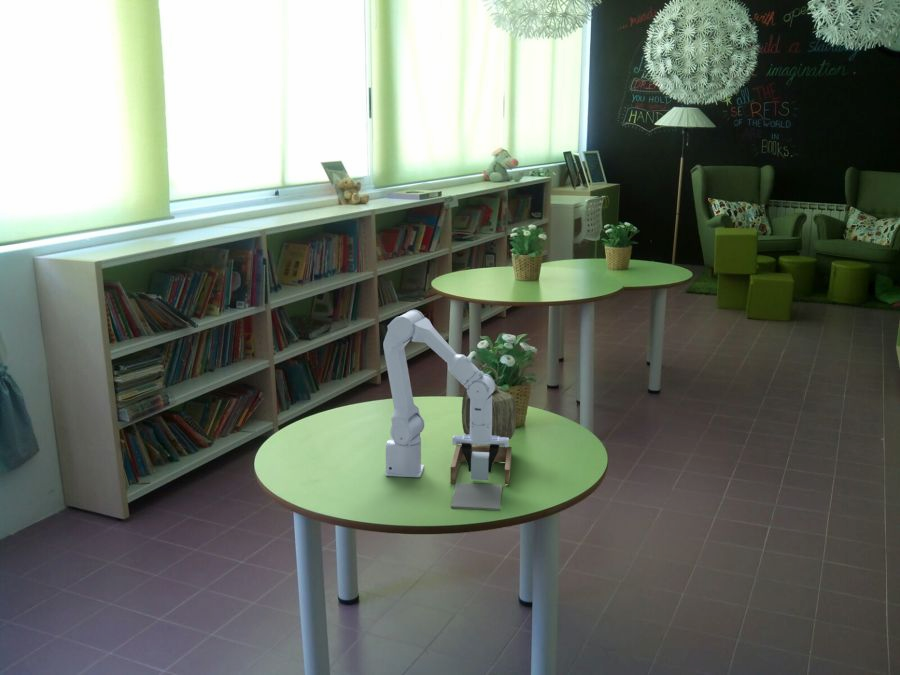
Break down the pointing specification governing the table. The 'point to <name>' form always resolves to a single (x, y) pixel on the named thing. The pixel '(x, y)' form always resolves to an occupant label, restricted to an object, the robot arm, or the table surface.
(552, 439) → the table surface
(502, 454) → the brown u-shaped frame
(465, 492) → the pad
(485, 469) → the block
